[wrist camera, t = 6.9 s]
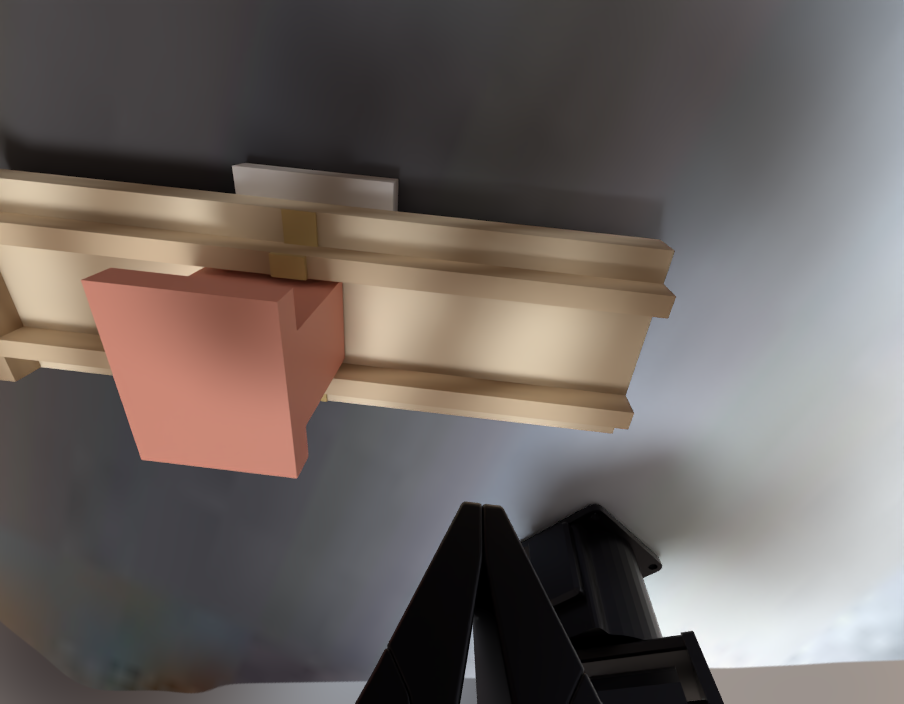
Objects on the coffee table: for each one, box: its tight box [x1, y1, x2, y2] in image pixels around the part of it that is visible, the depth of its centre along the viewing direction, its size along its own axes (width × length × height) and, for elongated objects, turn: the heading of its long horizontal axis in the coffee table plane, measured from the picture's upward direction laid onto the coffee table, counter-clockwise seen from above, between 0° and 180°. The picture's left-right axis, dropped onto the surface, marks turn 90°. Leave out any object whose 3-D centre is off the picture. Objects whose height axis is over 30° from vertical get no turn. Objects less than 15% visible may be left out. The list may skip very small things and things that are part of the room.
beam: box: [0, 163, 676, 433], centre depth 18 cm, size 26×10×4 cm, turn 85°
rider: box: [81, 267, 345, 478], centre depth 15 cm, size 5×6×5 cm
